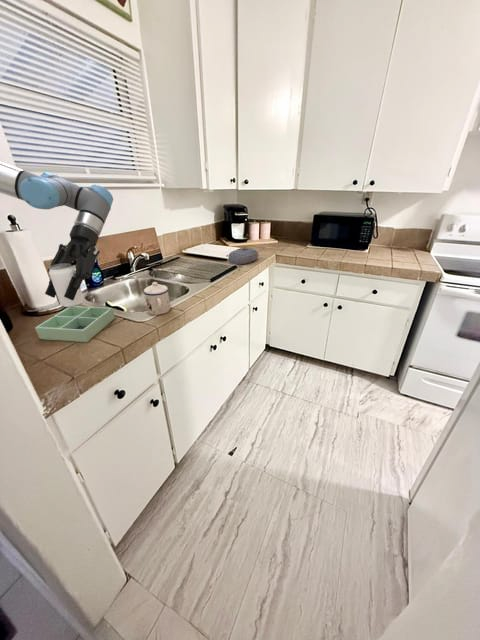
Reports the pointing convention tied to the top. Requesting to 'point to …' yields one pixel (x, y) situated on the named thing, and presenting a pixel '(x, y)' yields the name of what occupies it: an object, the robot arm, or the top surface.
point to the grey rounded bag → (243, 256)
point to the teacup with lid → (157, 299)
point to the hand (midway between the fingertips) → (59, 296)
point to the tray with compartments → (75, 324)
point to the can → (64, 284)
